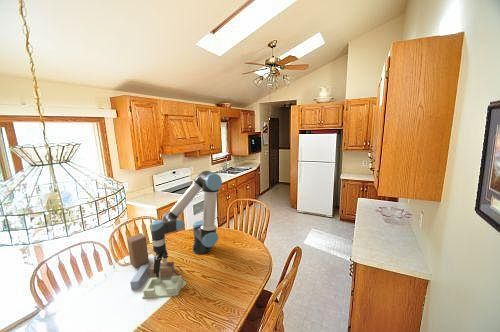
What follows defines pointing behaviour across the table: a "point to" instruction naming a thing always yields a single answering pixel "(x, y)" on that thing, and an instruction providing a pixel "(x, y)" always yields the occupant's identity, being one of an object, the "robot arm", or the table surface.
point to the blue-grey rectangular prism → (139, 276)
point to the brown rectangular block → (163, 270)
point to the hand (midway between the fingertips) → (162, 273)
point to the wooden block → (138, 249)
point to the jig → (163, 287)
